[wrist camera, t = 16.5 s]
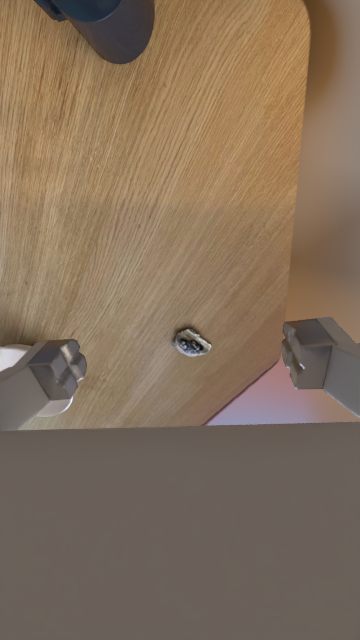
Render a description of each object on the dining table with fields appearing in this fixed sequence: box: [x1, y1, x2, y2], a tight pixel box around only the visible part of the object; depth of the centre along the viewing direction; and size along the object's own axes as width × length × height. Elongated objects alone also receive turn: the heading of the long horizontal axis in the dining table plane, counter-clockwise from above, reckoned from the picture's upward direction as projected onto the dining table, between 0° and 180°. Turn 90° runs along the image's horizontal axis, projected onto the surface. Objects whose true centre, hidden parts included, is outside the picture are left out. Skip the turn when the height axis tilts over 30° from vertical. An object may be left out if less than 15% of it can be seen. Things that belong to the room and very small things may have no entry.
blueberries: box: [172, 329, 211, 357], centre depth 47 cm, size 7×8×2 cm
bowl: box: [0, 344, 73, 417], centre depth 52 cm, size 20×20×6 cm
